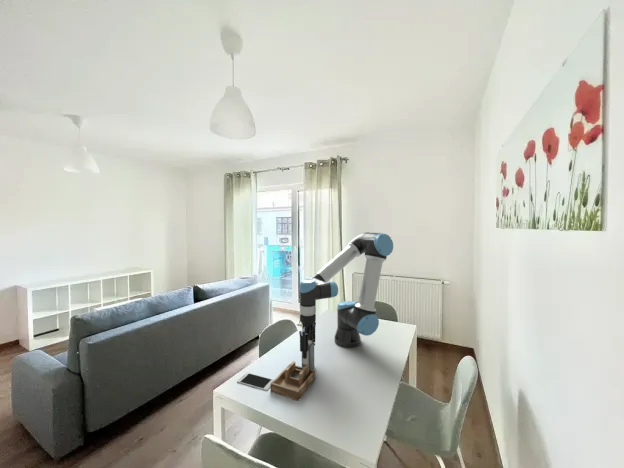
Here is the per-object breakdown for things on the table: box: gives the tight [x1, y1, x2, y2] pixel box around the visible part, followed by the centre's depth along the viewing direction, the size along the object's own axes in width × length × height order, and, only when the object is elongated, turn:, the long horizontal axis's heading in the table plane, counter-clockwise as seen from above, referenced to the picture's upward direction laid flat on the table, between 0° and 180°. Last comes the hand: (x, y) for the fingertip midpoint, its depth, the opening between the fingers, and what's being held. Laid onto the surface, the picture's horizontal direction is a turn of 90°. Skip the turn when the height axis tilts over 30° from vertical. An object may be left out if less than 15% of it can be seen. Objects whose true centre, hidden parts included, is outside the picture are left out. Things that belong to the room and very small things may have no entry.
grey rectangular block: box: [301, 340, 315, 370], centre depth 122 cm, size 4×4×13 cm
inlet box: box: [270, 360, 316, 401], centre depth 110 cm, size 16×13×6 cm
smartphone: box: [236, 372, 274, 392], centre depth 112 cm, size 7×16×1 cm, turn 68°
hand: (308, 361), depth 123 cm, fingers closed on grey rectangular block, 4 cm apart
